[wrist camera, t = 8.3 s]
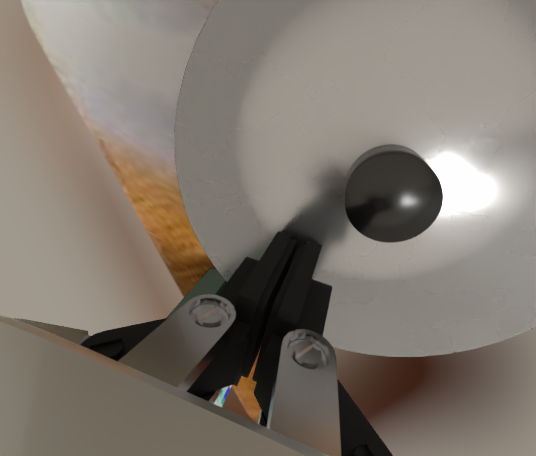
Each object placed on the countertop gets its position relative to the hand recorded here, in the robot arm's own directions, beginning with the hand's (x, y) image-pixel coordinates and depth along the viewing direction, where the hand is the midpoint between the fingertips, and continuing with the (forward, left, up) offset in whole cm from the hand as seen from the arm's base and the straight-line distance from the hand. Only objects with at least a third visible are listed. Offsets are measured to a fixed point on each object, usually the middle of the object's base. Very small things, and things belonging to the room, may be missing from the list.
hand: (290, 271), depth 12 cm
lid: (-2, -4, -1) cm, 5 cm away
